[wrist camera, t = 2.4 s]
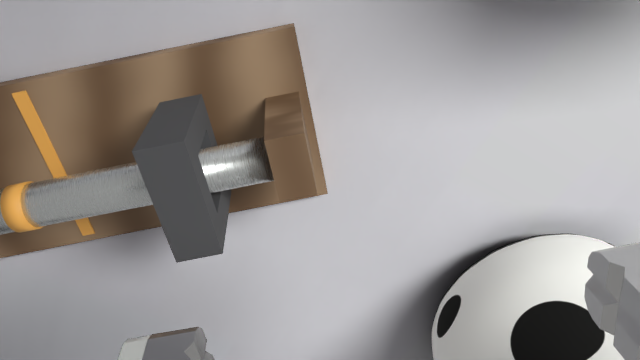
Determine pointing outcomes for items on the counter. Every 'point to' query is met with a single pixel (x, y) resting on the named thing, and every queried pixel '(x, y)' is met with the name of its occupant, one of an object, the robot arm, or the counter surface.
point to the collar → (182, 178)
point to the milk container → (524, 305)
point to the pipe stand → (129, 123)
